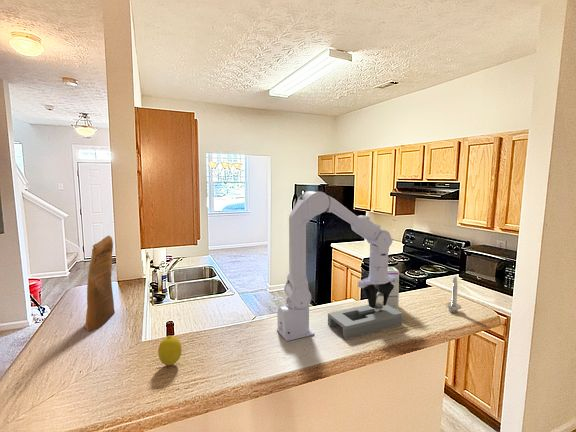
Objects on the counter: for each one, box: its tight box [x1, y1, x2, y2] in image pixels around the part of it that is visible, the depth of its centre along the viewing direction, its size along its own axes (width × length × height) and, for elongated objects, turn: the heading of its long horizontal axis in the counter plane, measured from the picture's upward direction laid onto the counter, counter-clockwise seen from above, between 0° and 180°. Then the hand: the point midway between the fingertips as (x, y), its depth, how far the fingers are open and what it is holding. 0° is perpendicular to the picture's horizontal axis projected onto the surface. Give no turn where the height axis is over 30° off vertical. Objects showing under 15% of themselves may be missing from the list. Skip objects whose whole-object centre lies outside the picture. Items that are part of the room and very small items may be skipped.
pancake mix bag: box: [85, 235, 115, 332], centre depth 102 cm, size 7×19×28 cm, turn 8°
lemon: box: [157, 335, 183, 366], centre depth 77 cm, size 6×6×8 cm
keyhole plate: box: [327, 304, 404, 340], centre depth 99 cm, size 22×10×4 cm, turn 114°
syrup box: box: [386, 266, 400, 311], centre depth 112 cm, size 6×6×14 cm
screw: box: [445, 275, 462, 314], centre depth 108 cm, size 13×5×5 cm
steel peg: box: [373, 291, 384, 314], centre depth 100 cm, size 4×4×9 cm
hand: (377, 305), depth 100 cm, fingers closed on steel peg, 4 cm apart
